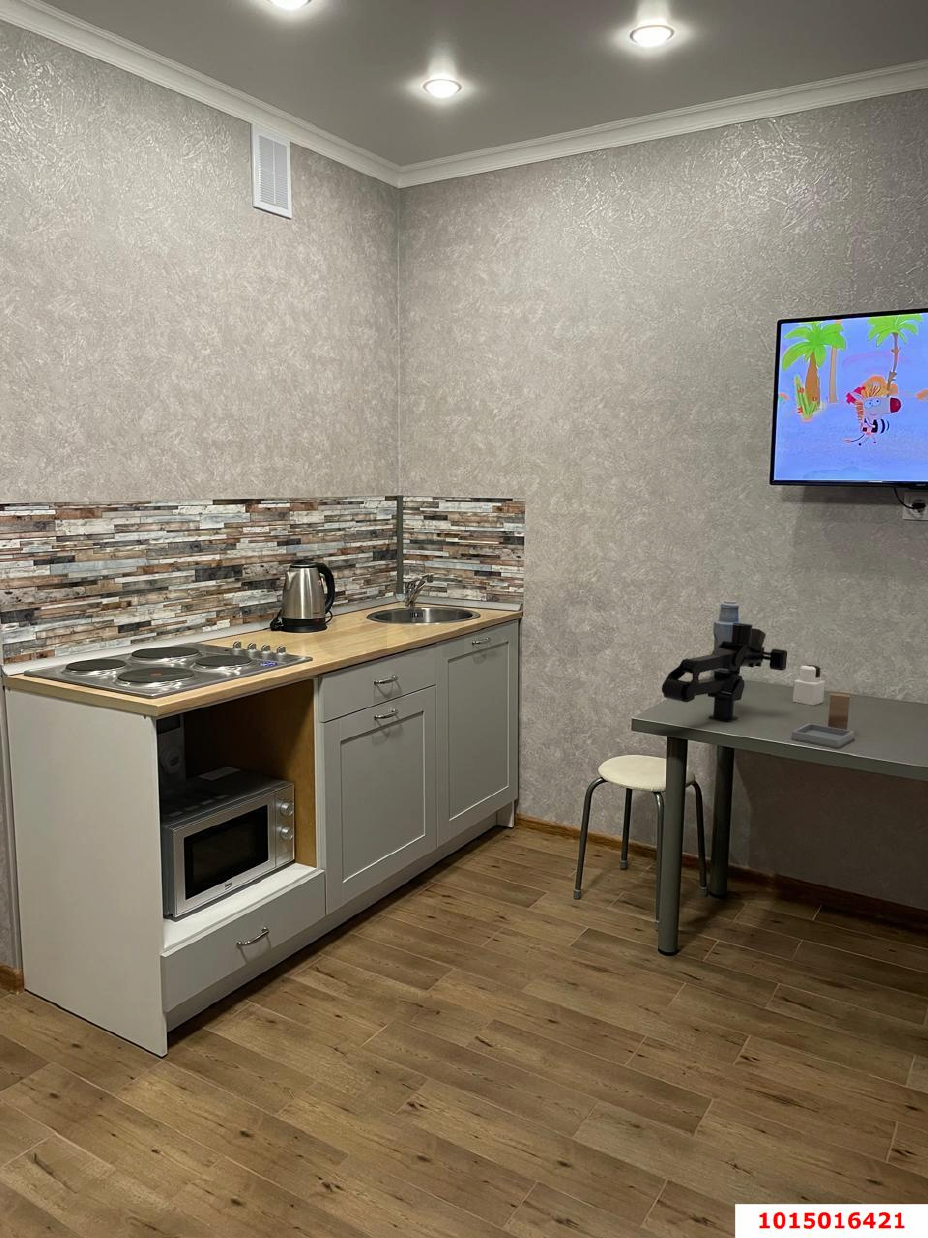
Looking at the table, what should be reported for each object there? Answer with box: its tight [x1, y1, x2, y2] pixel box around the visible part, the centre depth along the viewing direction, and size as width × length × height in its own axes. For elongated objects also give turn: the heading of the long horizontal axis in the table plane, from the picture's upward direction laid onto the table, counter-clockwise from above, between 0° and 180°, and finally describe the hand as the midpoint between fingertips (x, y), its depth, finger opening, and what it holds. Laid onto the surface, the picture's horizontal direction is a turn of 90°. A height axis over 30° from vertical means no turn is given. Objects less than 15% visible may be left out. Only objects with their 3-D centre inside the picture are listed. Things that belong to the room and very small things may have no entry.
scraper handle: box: [827, 691, 851, 730], centre depth 263 cm, size 5×5×11 cm
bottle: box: [709, 599, 743, 678], centre depth 316 cm, size 10×10×30 cm
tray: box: [791, 722, 856, 750], centre depth 255 cm, size 13×13×2 cm
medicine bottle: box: [792, 664, 826, 707], centre depth 298 cm, size 7×7×12 cm
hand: (770, 654), depth 290 cm, fingers open, 9 cm apart
